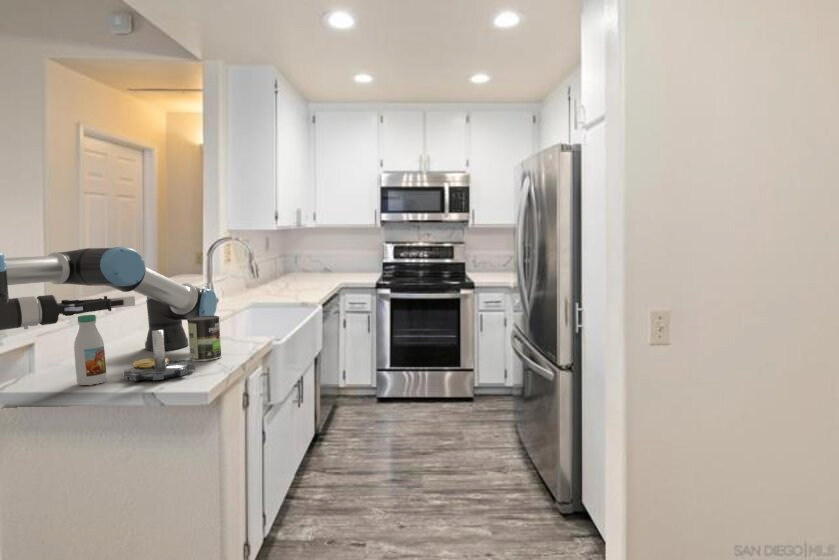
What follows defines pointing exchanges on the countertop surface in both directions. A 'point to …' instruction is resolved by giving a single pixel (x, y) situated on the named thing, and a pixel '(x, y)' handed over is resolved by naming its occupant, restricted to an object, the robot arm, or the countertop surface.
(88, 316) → the milk bottle
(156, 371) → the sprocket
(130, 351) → the countertop surface
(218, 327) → the coffee can
